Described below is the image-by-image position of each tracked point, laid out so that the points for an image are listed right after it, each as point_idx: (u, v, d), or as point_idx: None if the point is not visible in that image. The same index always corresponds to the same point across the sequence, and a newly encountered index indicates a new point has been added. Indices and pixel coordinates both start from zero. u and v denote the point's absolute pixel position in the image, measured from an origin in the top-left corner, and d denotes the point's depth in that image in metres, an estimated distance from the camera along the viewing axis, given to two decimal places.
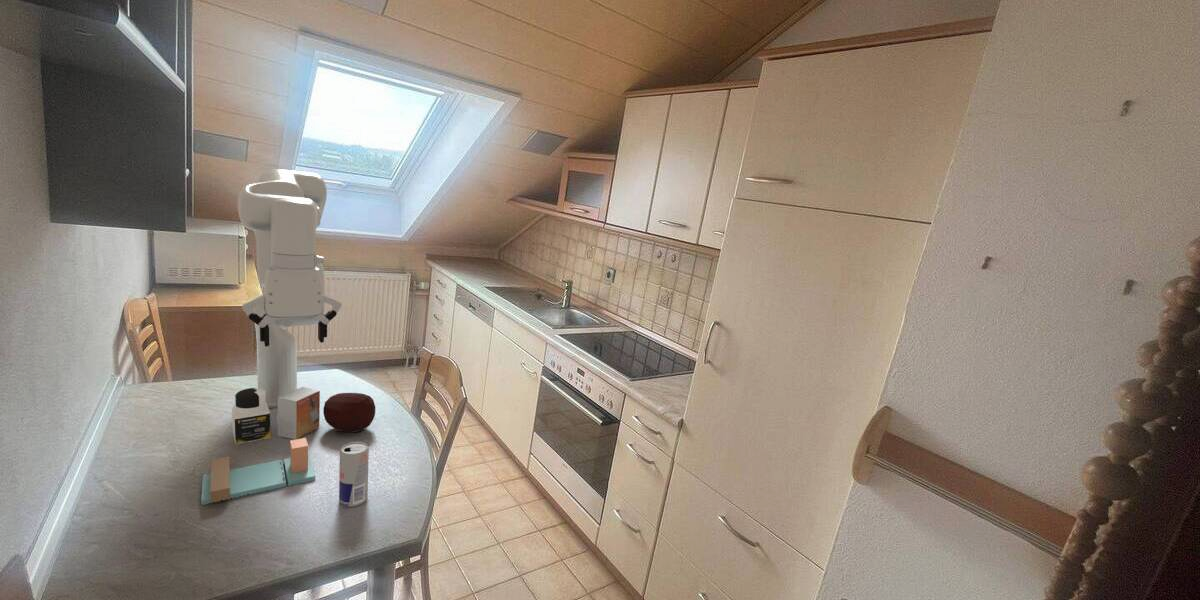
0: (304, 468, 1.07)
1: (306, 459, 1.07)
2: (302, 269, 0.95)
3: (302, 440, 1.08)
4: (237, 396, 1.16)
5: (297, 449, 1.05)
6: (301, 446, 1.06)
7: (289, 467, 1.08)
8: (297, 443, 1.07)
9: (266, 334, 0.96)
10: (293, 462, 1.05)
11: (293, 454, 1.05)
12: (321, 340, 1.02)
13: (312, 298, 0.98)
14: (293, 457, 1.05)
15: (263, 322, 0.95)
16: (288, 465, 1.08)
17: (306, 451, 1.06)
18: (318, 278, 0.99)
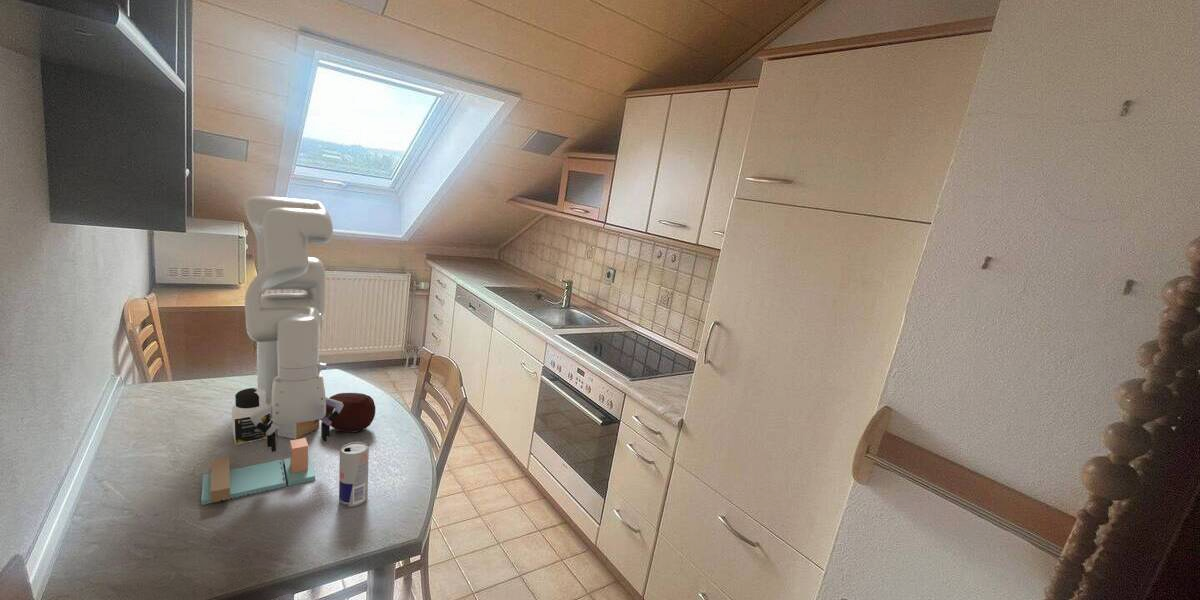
0: (304, 468, 1.07)
1: (306, 459, 1.07)
2: (306, 380, 1.02)
3: (302, 440, 1.08)
4: (237, 396, 1.16)
5: (297, 449, 1.05)
6: (301, 446, 1.06)
7: (289, 467, 1.08)
8: (297, 443, 1.07)
9: (273, 441, 1.02)
10: (293, 462, 1.05)
11: (293, 454, 1.05)
12: (324, 440, 1.08)
13: (316, 404, 1.05)
14: (293, 457, 1.05)
15: (270, 430, 1.01)
16: (288, 465, 1.08)
17: (306, 451, 1.06)
18: (321, 385, 1.05)
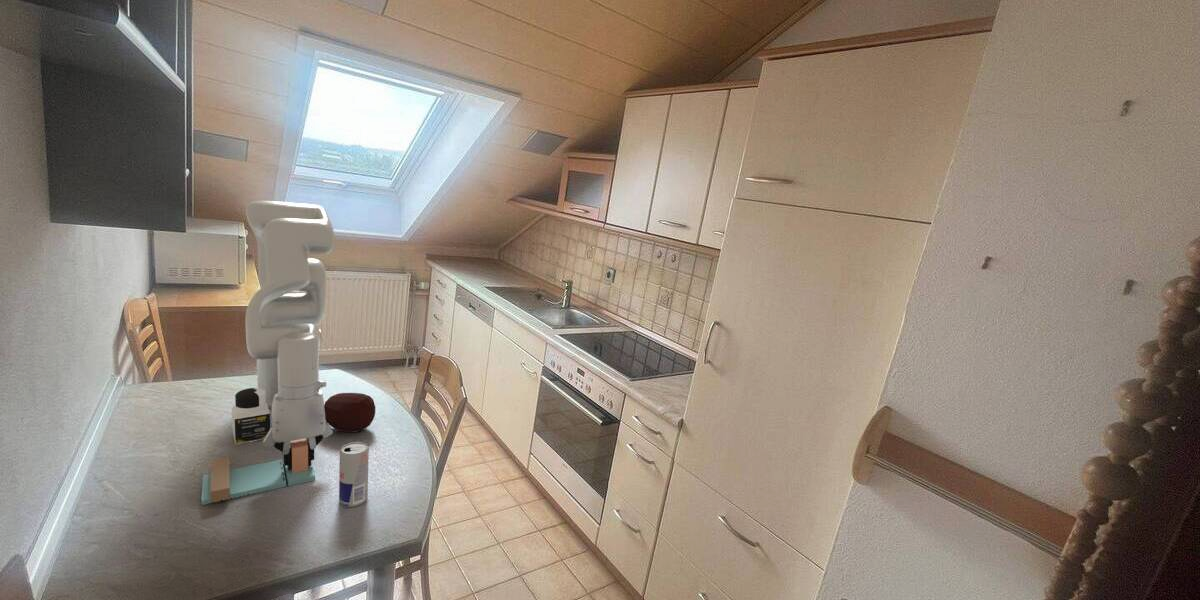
0: (304, 468, 1.07)
1: (306, 459, 1.07)
2: (306, 398, 1.03)
3: (302, 440, 1.08)
4: (237, 396, 1.16)
5: (297, 449, 1.05)
6: (301, 446, 1.06)
7: None
8: (297, 443, 1.07)
9: (289, 460, 1.05)
10: (293, 462, 1.05)
11: (293, 454, 1.05)
12: (308, 464, 1.08)
13: (315, 421, 1.06)
14: (293, 457, 1.05)
15: (285, 449, 1.05)
16: None
17: (306, 451, 1.06)
18: (321, 402, 1.06)
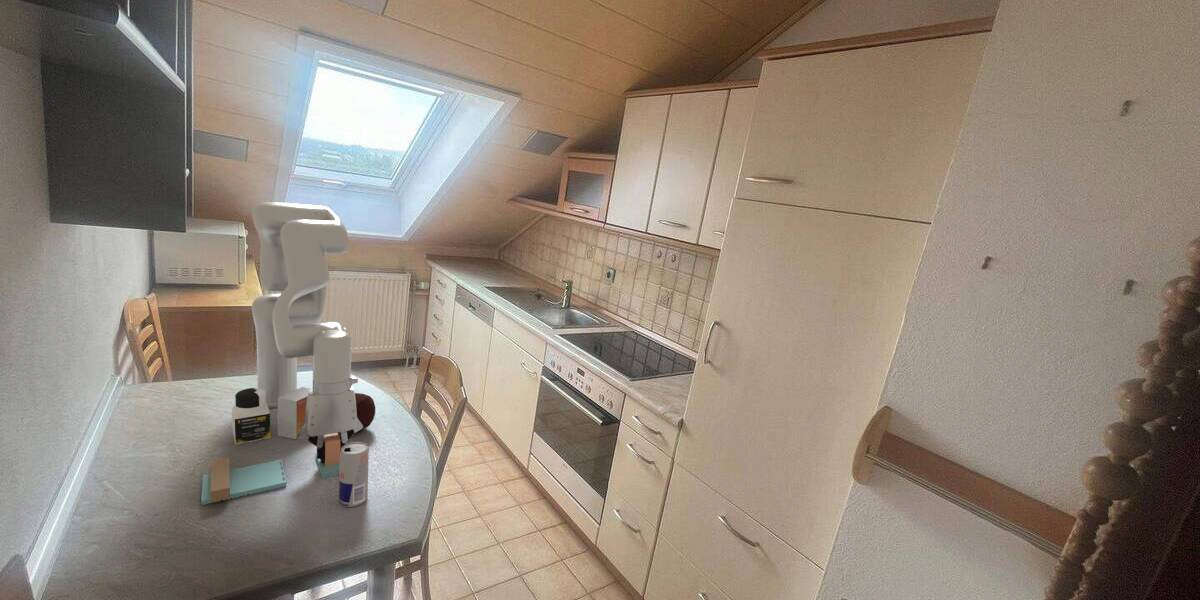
0: (336, 461, 1.11)
1: (338, 453, 1.11)
2: (340, 394, 1.07)
3: (334, 434, 1.12)
4: (237, 396, 1.16)
5: (330, 443, 1.09)
6: (334, 440, 1.10)
7: None
8: (330, 437, 1.11)
9: (323, 453, 1.09)
10: (326, 455, 1.09)
11: (326, 448, 1.09)
12: None
13: (348, 416, 1.10)
14: (326, 451, 1.09)
15: (319, 443, 1.08)
16: None
17: (338, 445, 1.10)
18: (353, 398, 1.10)
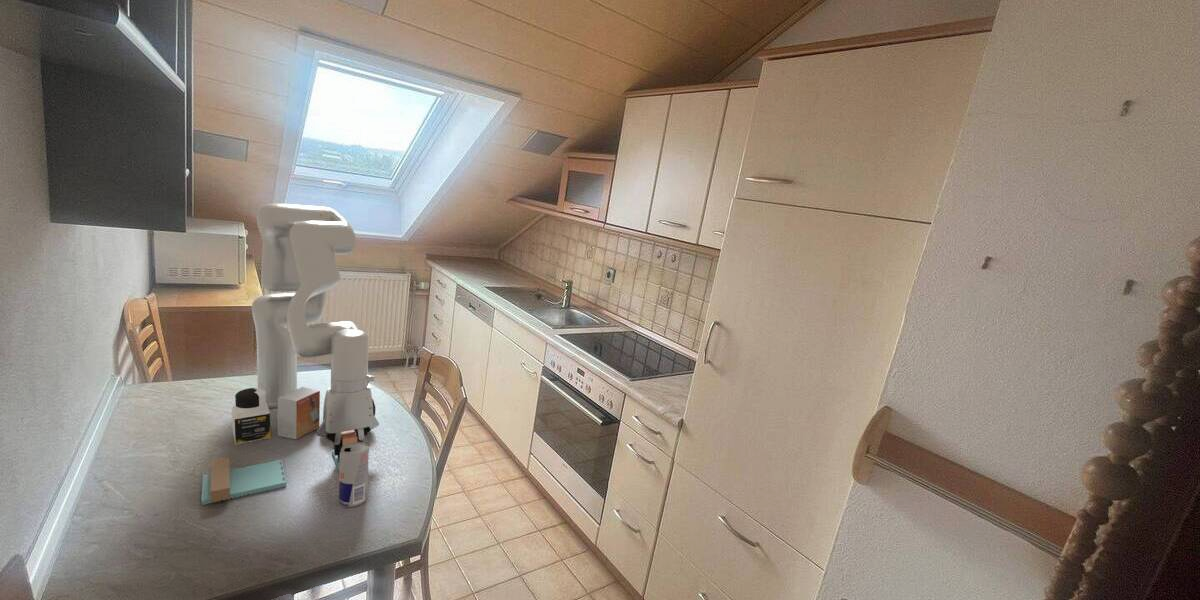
0: None
1: None
2: (357, 391, 1.09)
3: (351, 431, 1.14)
4: (237, 396, 1.16)
5: (348, 440, 1.11)
6: (351, 437, 1.12)
7: None
8: (347, 434, 1.13)
9: (340, 450, 1.11)
10: None
11: (344, 444, 1.11)
12: None
13: (364, 413, 1.12)
14: None
15: (337, 440, 1.11)
16: None
17: None
18: (370, 395, 1.12)
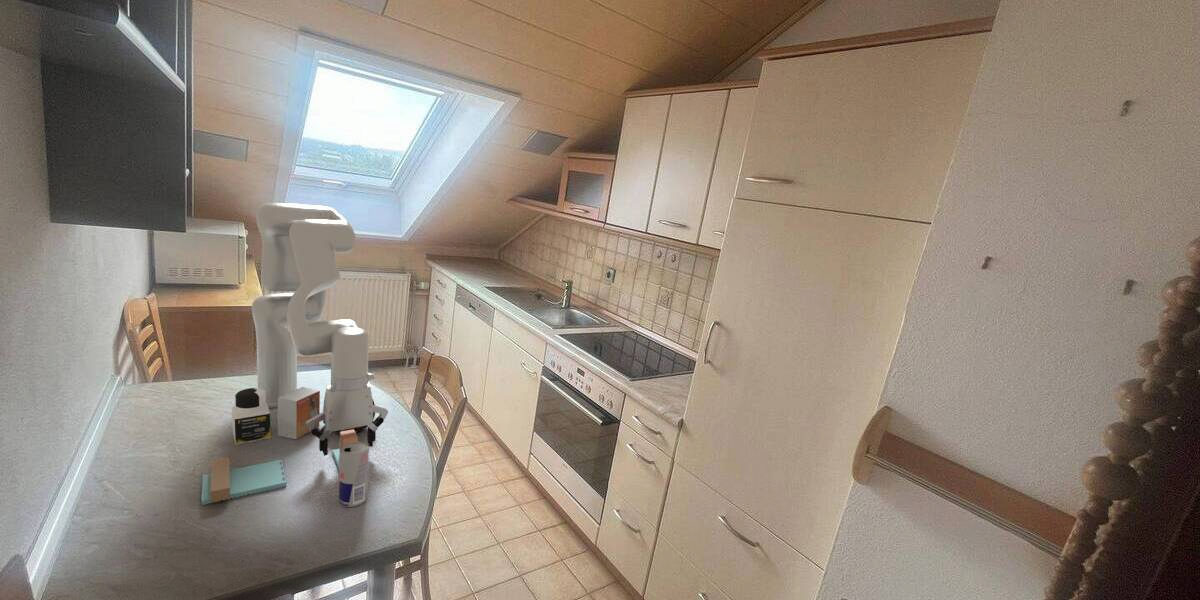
0: None
1: None
2: (357, 390, 1.09)
3: (351, 431, 1.14)
4: (237, 396, 1.16)
5: (348, 440, 1.11)
6: (351, 437, 1.12)
7: (339, 457, 1.14)
8: (347, 434, 1.13)
9: (325, 445, 1.09)
10: None
11: (344, 444, 1.11)
12: (370, 445, 1.16)
13: (364, 411, 1.12)
14: None
15: (323, 435, 1.09)
16: (337, 455, 1.14)
17: None
18: (370, 394, 1.12)
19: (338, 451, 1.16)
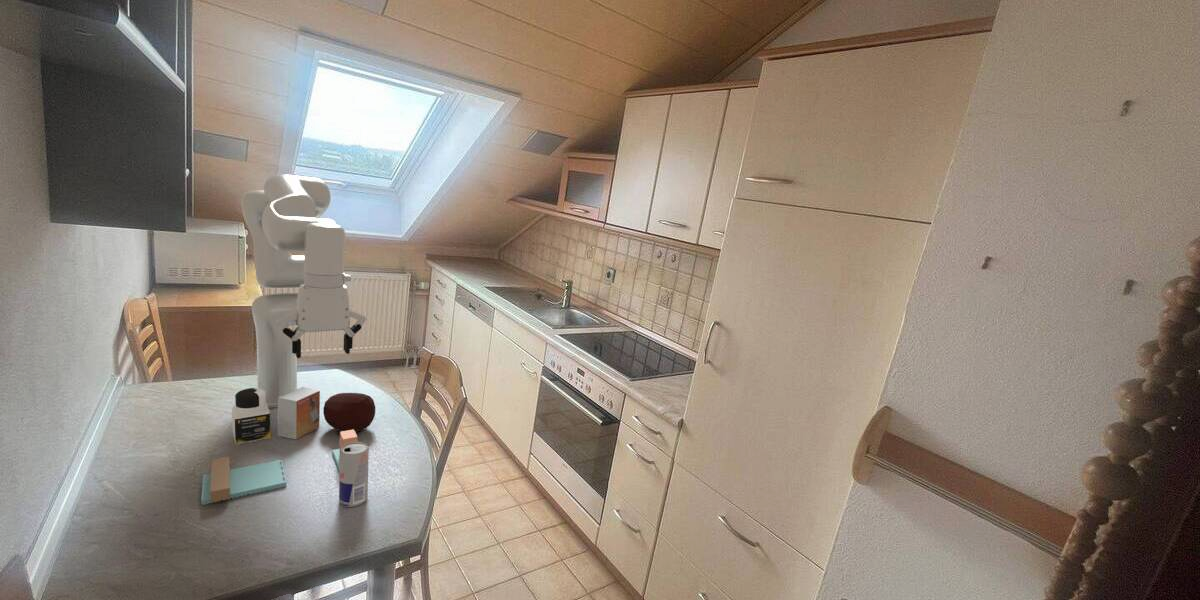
0: None
1: None
2: (332, 288, 1.03)
3: (351, 431, 1.14)
4: (237, 396, 1.16)
5: (348, 440, 1.11)
6: (351, 437, 1.12)
7: (339, 457, 1.14)
8: (347, 434, 1.13)
9: (298, 347, 1.04)
10: None
11: (344, 444, 1.11)
12: (347, 352, 1.10)
13: (340, 314, 1.06)
14: None
15: (296, 336, 1.03)
16: (337, 455, 1.14)
17: None
18: (346, 295, 1.06)
19: (338, 451, 1.16)
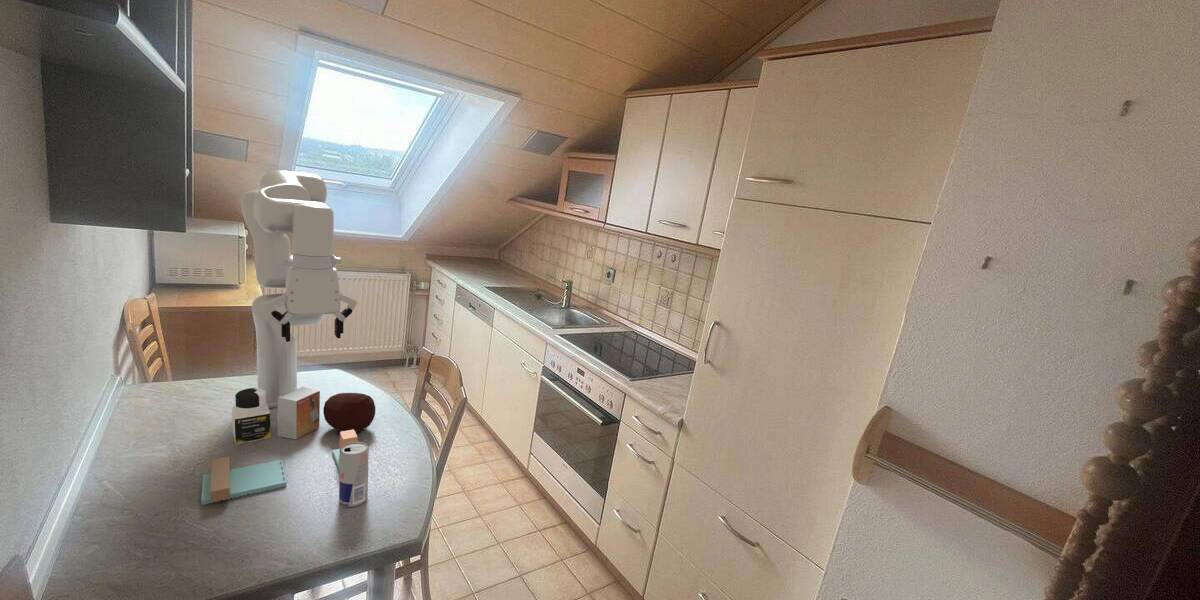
0: None
1: None
2: (321, 269, 1.01)
3: (351, 431, 1.14)
4: (237, 396, 1.16)
5: (348, 440, 1.11)
6: (351, 437, 1.12)
7: (339, 457, 1.14)
8: (347, 434, 1.13)
9: (287, 330, 1.02)
10: None
11: (344, 444, 1.11)
12: (338, 336, 1.08)
13: (330, 296, 1.05)
14: None
15: (285, 319, 1.02)
16: (337, 455, 1.14)
17: None
18: (335, 278, 1.05)
19: (338, 451, 1.16)
